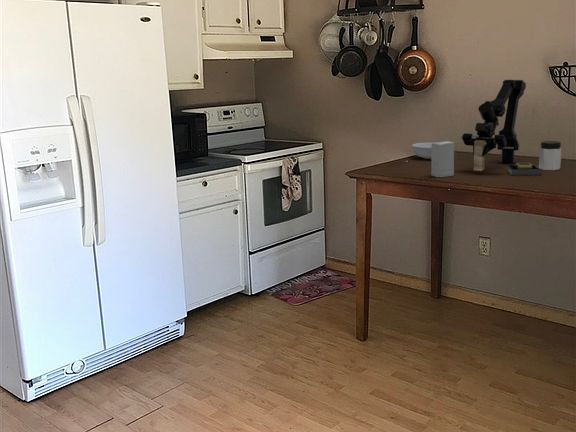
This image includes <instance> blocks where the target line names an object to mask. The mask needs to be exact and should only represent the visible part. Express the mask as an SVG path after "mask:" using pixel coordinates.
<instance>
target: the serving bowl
mask: <svg viewBox="0 0 576 432" xmlns="http://www.w3.org/2000/svg"><path fill="white" fill-rule="evenodd" d="M432 143H433V142H418V143H413V144H411V149H412V152H413V153H414V155H415V156H417V157H420V158H423V159H425V160H432Z"/></svg>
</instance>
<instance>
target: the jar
mask: <svg viewBox="0 0 576 432" xmlns="http://www.w3.org/2000/svg"><path fill="white" fill-rule="evenodd" d="M561 147H562V143H561V141H559V140H545V141H544V140H543V141H541V142H540V147H539V156H538V159H539V160H538V167H539V168H540V169H541V171H542V170H543V171H557V170H560V169H561V161H562V148H561Z"/></svg>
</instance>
